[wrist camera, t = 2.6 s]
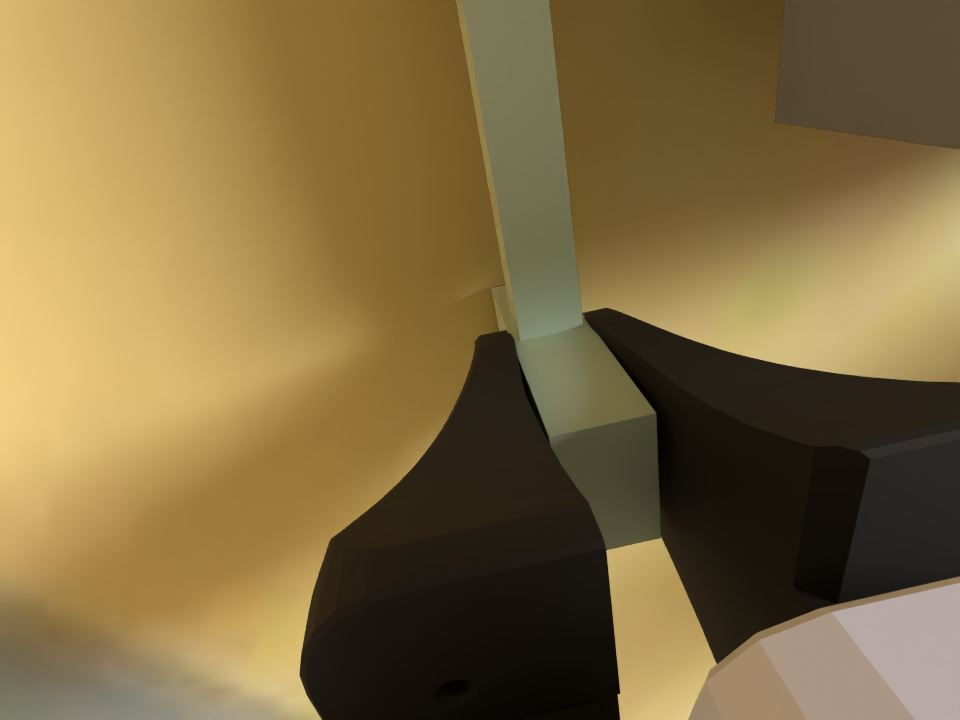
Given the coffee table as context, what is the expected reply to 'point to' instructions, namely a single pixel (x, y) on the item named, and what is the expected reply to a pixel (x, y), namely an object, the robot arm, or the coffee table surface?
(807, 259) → the coffee table surface
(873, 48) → the cabinet
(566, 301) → the pale green mallet
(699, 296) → the coffee table surface
